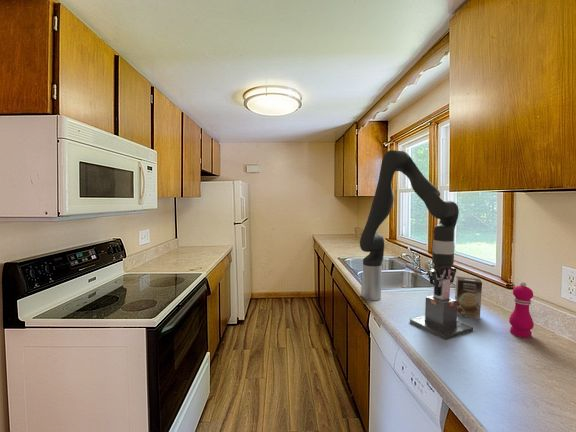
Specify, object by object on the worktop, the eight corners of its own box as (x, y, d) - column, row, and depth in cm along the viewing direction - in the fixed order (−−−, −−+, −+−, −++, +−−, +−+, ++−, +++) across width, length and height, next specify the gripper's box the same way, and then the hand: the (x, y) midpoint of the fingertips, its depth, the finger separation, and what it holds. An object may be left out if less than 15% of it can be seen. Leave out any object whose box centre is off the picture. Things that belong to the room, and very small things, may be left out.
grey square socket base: (409, 322, 119) (410, 295, 118) (436, 315, 126) (437, 289, 125) (445, 339, 105) (446, 308, 104) (473, 331, 111) (474, 302, 111)
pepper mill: (537, 339, 105) (540, 285, 104) (515, 337, 106) (518, 284, 105) (525, 330, 112) (528, 280, 111) (504, 328, 113) (507, 278, 112)
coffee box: (455, 315, 126) (457, 279, 125) (454, 310, 132) (455, 276, 131) (480, 319, 122) (482, 282, 121) (478, 314, 128) (479, 278, 127)
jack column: (432, 320, 116) (433, 276, 115) (439, 318, 118) (441, 275, 117) (441, 324, 112) (443, 279, 111) (449, 323, 114) (450, 277, 113)
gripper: (446, 248, 120) (445, 289, 121) (422, 251, 114) (420, 294, 115) (464, 251, 113) (462, 294, 114) (439, 254, 107) (437, 300, 108)
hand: (441, 294), depth 114 cm, fingers closed on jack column, 4 cm apart
